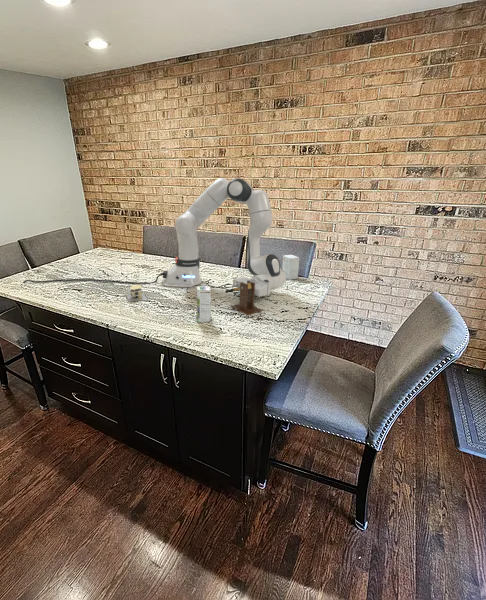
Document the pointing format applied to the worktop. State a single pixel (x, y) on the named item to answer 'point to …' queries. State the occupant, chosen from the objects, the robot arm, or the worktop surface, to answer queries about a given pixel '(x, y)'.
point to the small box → (290, 266)
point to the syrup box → (203, 303)
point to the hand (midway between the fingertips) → (236, 289)
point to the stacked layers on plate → (136, 293)
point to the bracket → (247, 299)
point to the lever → (238, 288)
